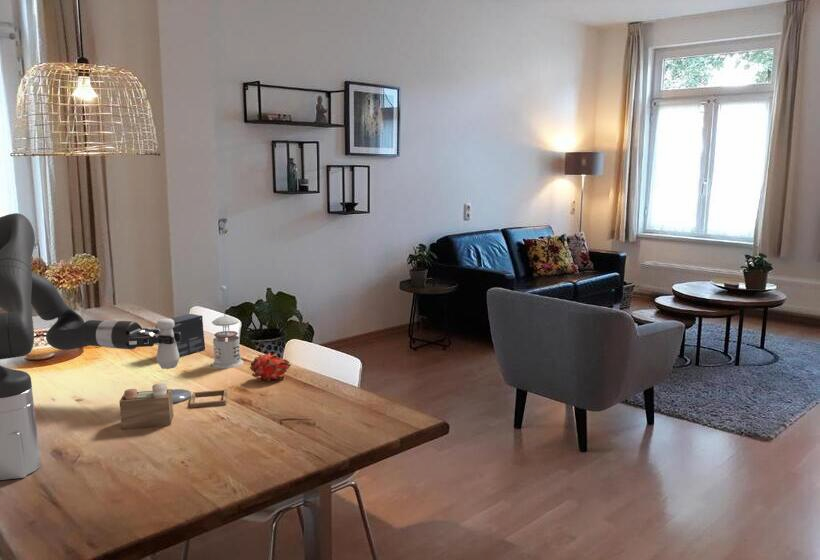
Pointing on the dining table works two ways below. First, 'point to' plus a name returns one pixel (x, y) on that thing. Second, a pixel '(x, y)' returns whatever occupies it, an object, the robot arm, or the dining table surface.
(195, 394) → the holder
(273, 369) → the dragon fruit
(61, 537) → the dining table surface
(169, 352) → the salt shaker
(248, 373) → the dining table surface
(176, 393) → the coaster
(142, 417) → the caddy
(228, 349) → the french press
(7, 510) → the dining table surface
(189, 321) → the small box
